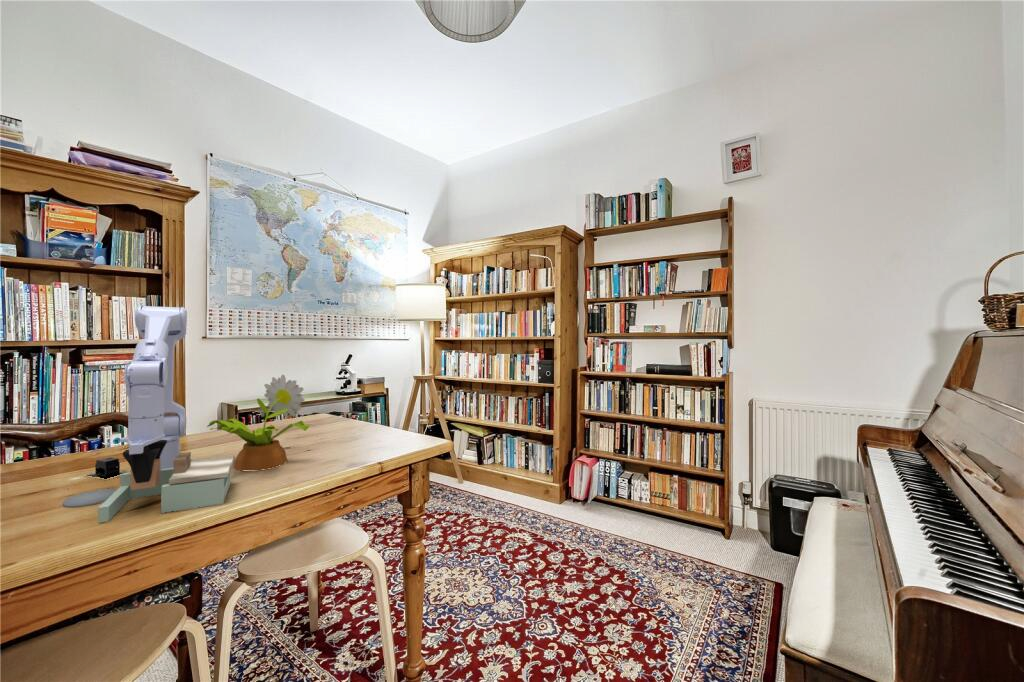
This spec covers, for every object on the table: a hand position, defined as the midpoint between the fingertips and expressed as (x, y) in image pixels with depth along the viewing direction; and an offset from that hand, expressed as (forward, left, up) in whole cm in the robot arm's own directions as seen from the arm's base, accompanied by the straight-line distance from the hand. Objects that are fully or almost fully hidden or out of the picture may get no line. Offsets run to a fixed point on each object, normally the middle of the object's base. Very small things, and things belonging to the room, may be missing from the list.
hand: (146, 478), depth 88 cm
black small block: (-28, -14, -6) cm, 32 cm away
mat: (-9, -11, -6) cm, 15 cm away
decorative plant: (-21, +19, -6) cm, 29 cm away
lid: (0, +10, 0) cm, 10 cm away
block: (0, 0, -2) cm, 2 cm away
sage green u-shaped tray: (0, +5, -6) cm, 7 cm away
